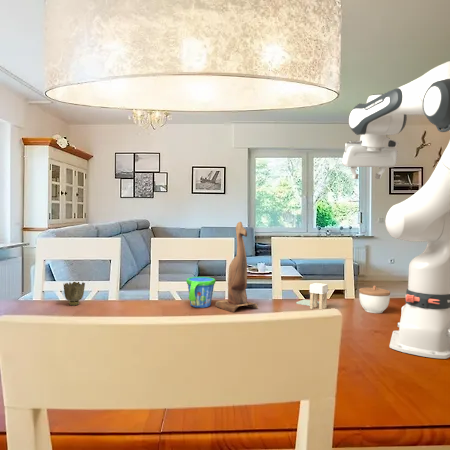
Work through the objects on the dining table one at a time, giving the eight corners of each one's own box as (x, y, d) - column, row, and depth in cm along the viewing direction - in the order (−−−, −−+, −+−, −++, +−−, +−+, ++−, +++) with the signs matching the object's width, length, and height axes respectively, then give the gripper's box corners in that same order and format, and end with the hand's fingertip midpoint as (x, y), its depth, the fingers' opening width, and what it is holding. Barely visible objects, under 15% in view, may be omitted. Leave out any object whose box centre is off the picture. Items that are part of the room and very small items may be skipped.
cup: (58, 305, 154) (58, 283, 153) (73, 301, 160) (73, 280, 160) (75, 308, 151) (75, 285, 150) (89, 304, 158) (89, 282, 157)
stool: (321, 310, 154) (322, 286, 154) (309, 308, 157) (309, 284, 157) (327, 308, 158) (327, 284, 158) (314, 306, 161) (315, 282, 161)
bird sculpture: (235, 314, 148) (240, 222, 146) (214, 307, 156) (218, 220, 155) (258, 310, 155) (262, 222, 153) (236, 303, 164) (240, 220, 162)
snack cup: (202, 312, 149) (202, 283, 148) (176, 308, 153) (177, 280, 153) (222, 303, 162) (223, 277, 162) (198, 300, 167) (199, 274, 167)
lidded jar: (392, 315, 149) (393, 289, 148) (360, 313, 151) (360, 287, 151) (386, 309, 159) (387, 284, 159) (357, 307, 161) (357, 282, 161)
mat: (312, 306, 161) (313, 304, 161) (296, 303, 165) (296, 302, 165) (320, 303, 167) (320, 301, 167) (304, 300, 171) (304, 299, 171)
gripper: (350, 141, 148) (344, 180, 152) (402, 142, 152) (395, 180, 156) (341, 139, 154) (336, 176, 158) (392, 140, 158) (386, 176, 162)
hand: (366, 178), depth 157 cm, fingers open, 8 cm apart
